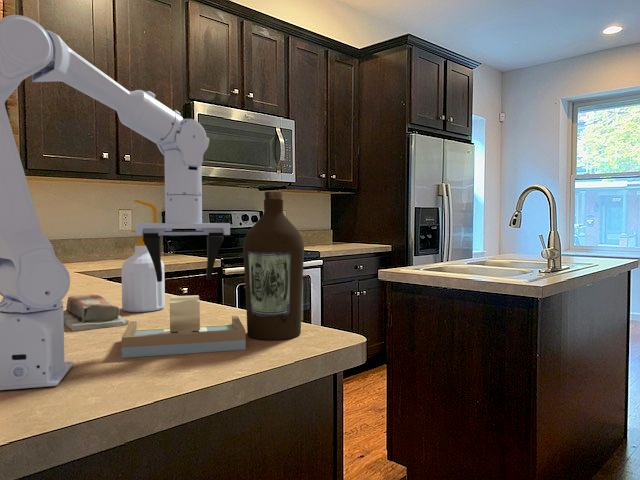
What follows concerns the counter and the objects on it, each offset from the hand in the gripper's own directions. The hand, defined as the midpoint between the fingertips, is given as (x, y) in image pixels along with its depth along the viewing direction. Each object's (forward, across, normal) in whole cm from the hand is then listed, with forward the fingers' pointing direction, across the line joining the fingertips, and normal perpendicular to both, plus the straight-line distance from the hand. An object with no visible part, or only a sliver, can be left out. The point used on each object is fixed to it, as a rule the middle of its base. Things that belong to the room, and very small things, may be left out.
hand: (184, 280), depth 80 cm
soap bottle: (+11, +9, -35) cm, 38 cm away
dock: (+10, 0, 0) cm, 10 cm away
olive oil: (+11, -15, -3) cm, 19 cm away
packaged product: (+11, +18, -25) cm, 33 cm away
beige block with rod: (+9, 0, 0) cm, 9 cm away
